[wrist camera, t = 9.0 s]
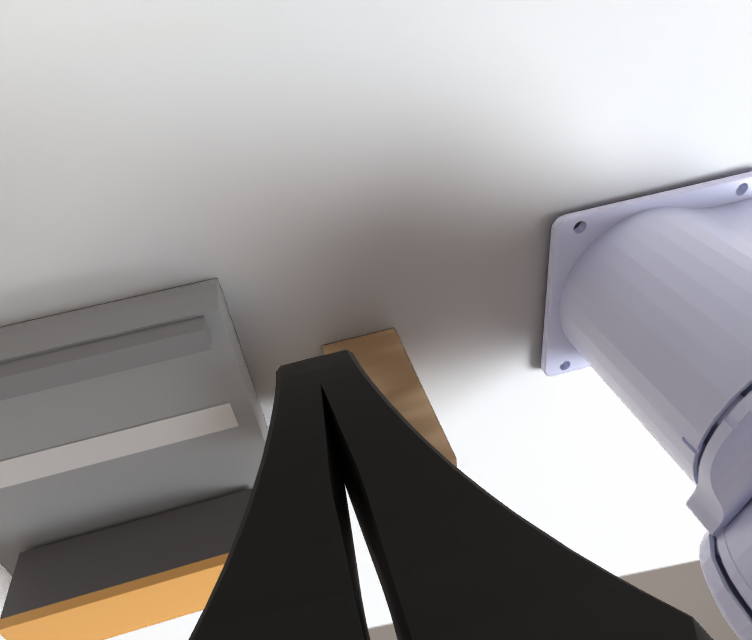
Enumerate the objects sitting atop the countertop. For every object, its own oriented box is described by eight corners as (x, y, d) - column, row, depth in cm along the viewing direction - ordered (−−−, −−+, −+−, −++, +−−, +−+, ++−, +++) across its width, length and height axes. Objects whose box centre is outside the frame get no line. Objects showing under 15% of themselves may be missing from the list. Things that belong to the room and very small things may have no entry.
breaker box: (217, 278, 20) (219, 323, 17) (301, 528, 28) (309, 579, 26) (-124, 355, 18) (-170, 415, 16) (76, 593, 27) (64, 653, 25)
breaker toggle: (253, 488, 23) (258, 553, 20) (267, 523, 24) (273, 588, 22) (19, 553, 22) (-4, 630, 19) (48, 585, 23) (30, 661, 21)
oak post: (394, 327, 23) (456, 457, 17) (401, 382, 25) (459, 516, 19) (321, 346, 22) (360, 485, 17) (333, 400, 24) (372, 542, 19)
